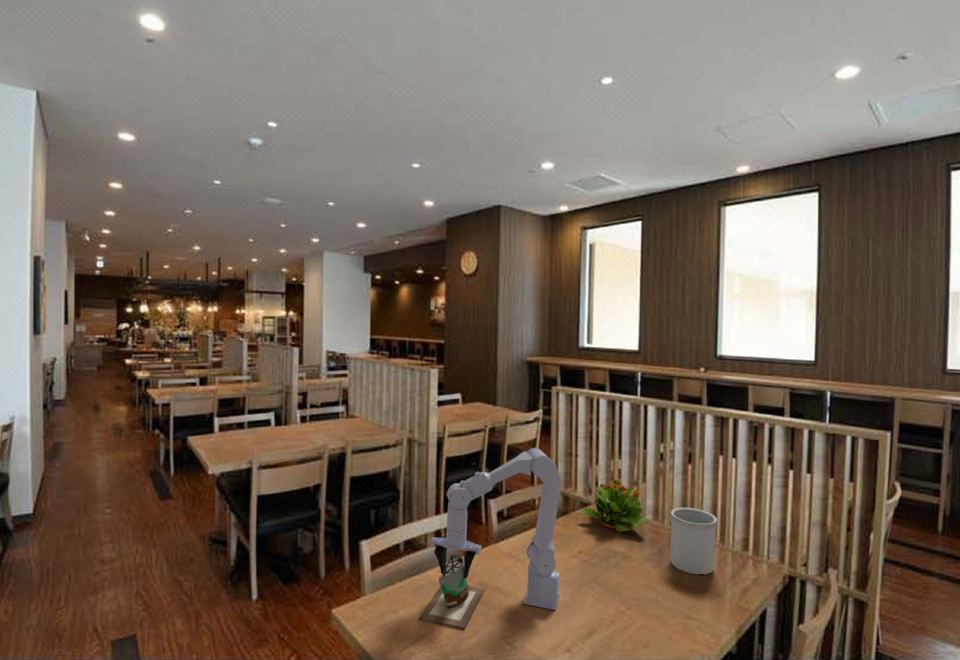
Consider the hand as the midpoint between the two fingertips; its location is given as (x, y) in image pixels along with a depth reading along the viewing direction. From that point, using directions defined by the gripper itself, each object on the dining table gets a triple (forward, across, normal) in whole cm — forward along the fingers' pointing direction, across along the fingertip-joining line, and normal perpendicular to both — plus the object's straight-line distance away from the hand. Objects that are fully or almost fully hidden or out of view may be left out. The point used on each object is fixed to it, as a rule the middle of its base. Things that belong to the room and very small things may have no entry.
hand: (454, 574), depth 143 cm
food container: (+7, +2, +2) cm, 8 cm away
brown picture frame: (+9, 0, 0) cm, 9 cm away
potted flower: (+9, +43, +78) cm, 89 cm away
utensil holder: (+9, +70, +51) cm, 87 cm away
